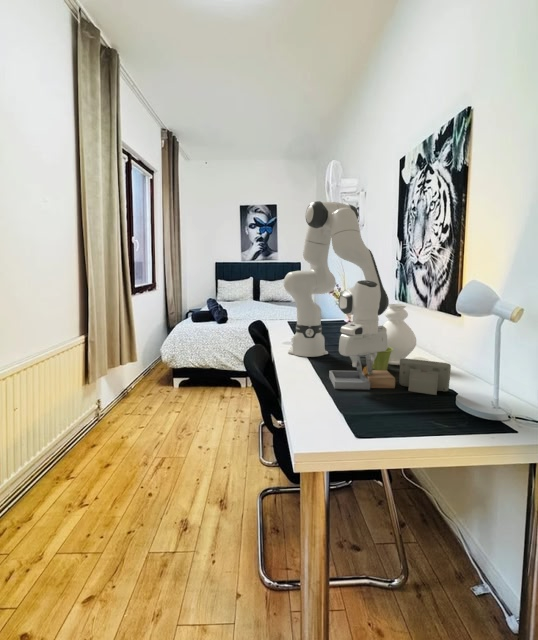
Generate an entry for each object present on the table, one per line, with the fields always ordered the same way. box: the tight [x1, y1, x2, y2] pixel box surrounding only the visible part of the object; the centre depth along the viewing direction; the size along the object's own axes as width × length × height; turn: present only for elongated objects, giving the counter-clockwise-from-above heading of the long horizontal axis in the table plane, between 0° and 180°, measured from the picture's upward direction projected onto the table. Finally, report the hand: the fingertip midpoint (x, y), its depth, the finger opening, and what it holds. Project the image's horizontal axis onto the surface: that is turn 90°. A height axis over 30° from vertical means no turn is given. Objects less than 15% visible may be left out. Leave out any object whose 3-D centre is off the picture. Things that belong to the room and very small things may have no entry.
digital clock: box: [398, 357, 452, 396], centre depth 130 cm, size 16×9×11 cm, turn 54°
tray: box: [328, 370, 371, 391], centre depth 137 cm, size 14×12×2 cm
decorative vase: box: [381, 303, 417, 366], centre depth 167 cm, size 18×18×25 cm
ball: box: [362, 365, 368, 374], centre depth 136 cm, size 3×3×3 cm
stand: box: [362, 369, 396, 389], centre depth 137 cm, size 10×9×4 cm
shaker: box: [356, 352, 373, 375], centre depth 136 cm, size 6×6×8 cm
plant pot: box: [370, 347, 393, 371], centre depth 155 cm, size 9×9×9 cm
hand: (363, 365), depth 136 cm, fingers closed on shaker, 6 cm apart
